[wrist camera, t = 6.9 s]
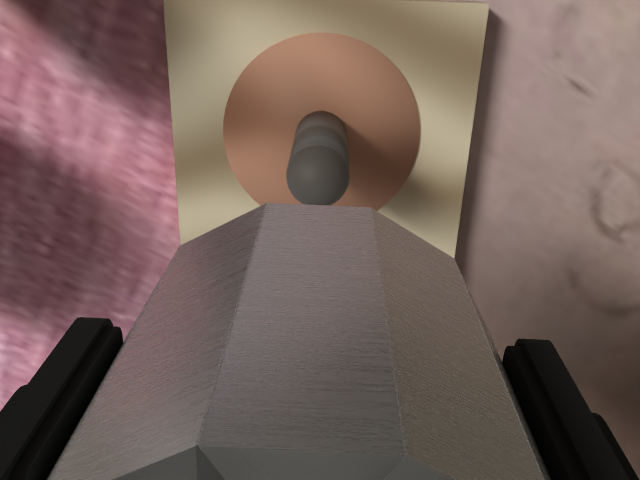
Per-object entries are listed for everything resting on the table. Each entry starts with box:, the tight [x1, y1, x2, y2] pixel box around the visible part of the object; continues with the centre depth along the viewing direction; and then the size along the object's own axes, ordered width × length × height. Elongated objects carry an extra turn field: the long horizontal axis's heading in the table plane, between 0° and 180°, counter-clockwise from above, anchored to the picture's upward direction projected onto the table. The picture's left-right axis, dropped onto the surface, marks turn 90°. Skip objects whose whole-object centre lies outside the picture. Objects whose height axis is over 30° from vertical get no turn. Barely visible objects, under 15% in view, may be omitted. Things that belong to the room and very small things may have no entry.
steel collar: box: [47, 202, 551, 480], centre depth 9 cm, size 7×7×6 cm
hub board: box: [163, 0, 489, 258], centre depth 26 cm, size 16×14×9 cm
